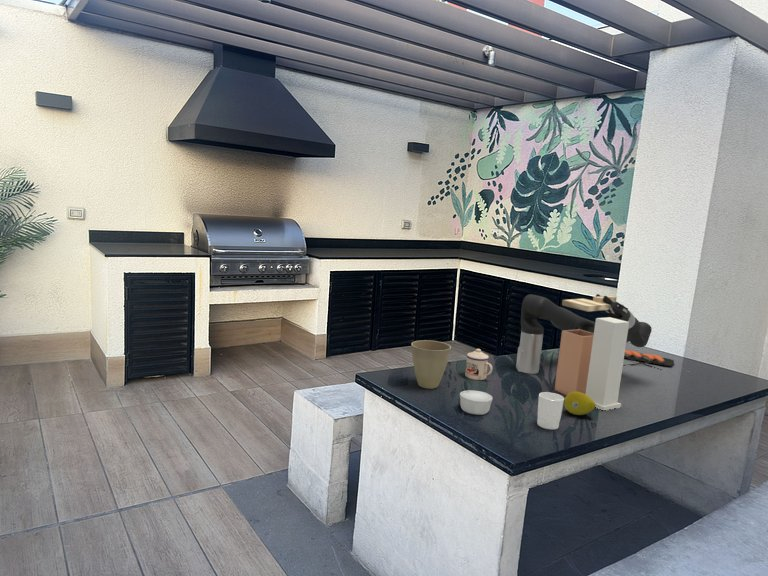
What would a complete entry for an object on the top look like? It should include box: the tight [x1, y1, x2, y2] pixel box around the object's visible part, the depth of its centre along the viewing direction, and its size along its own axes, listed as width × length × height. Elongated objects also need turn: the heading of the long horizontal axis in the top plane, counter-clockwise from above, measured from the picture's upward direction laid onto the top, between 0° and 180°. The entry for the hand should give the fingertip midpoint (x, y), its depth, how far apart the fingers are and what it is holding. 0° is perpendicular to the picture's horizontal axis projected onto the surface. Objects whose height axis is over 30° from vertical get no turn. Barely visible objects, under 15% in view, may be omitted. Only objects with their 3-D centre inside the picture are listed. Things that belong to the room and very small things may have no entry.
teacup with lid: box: [464, 348, 493, 381], centre depth 226 cm, size 12×9×12 cm
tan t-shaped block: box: [561, 295, 617, 313], centre depth 215 cm, size 22×12×4 cm, turn 121°
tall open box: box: [554, 328, 594, 396], centre depth 216 cm, size 10×10×24 cm
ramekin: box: [459, 389, 493, 415], centre depth 191 cm, size 11×11×5 cm
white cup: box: [536, 391, 565, 431], centre depth 181 cm, size 8×8×10 cm
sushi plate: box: [623, 349, 675, 371], centre depth 272 cm, size 29×30×4 cm
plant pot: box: [411, 339, 452, 390], centre depth 211 cm, size 15×15×16 cm
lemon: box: [563, 391, 596, 416], centre depth 193 cm, size 11×8×8 cm
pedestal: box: [586, 316, 629, 411], centre depth 204 cm, size 10×10×32 cm
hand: (600, 297), depth 216 cm, fingers closed on tan t-shaped block, 3 cm apart
